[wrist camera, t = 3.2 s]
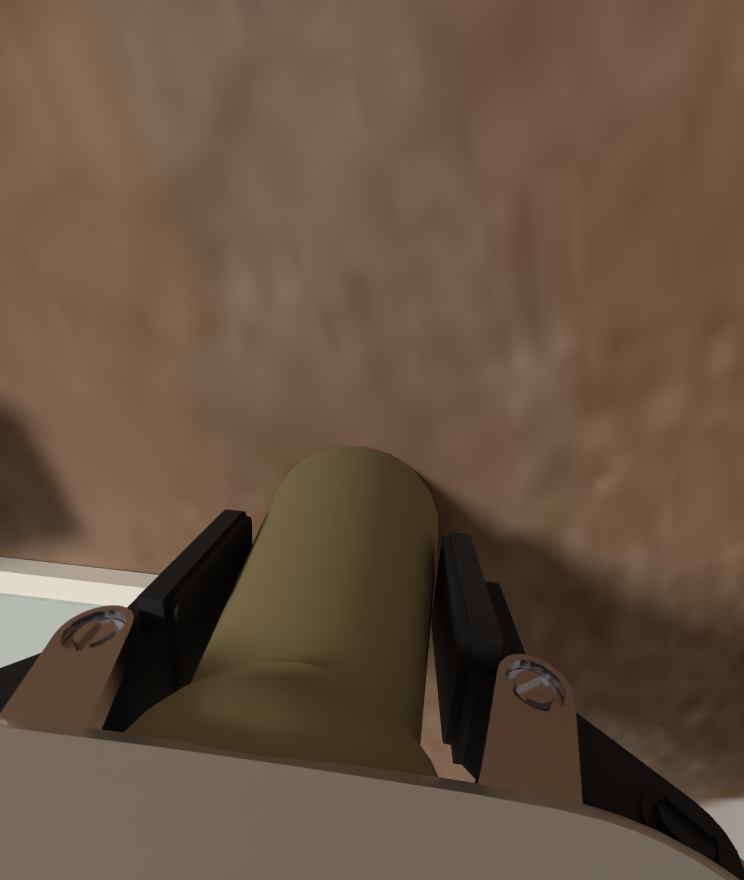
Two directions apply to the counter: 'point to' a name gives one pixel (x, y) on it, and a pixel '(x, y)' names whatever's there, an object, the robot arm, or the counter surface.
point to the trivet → (54, 600)
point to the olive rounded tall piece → (323, 624)
